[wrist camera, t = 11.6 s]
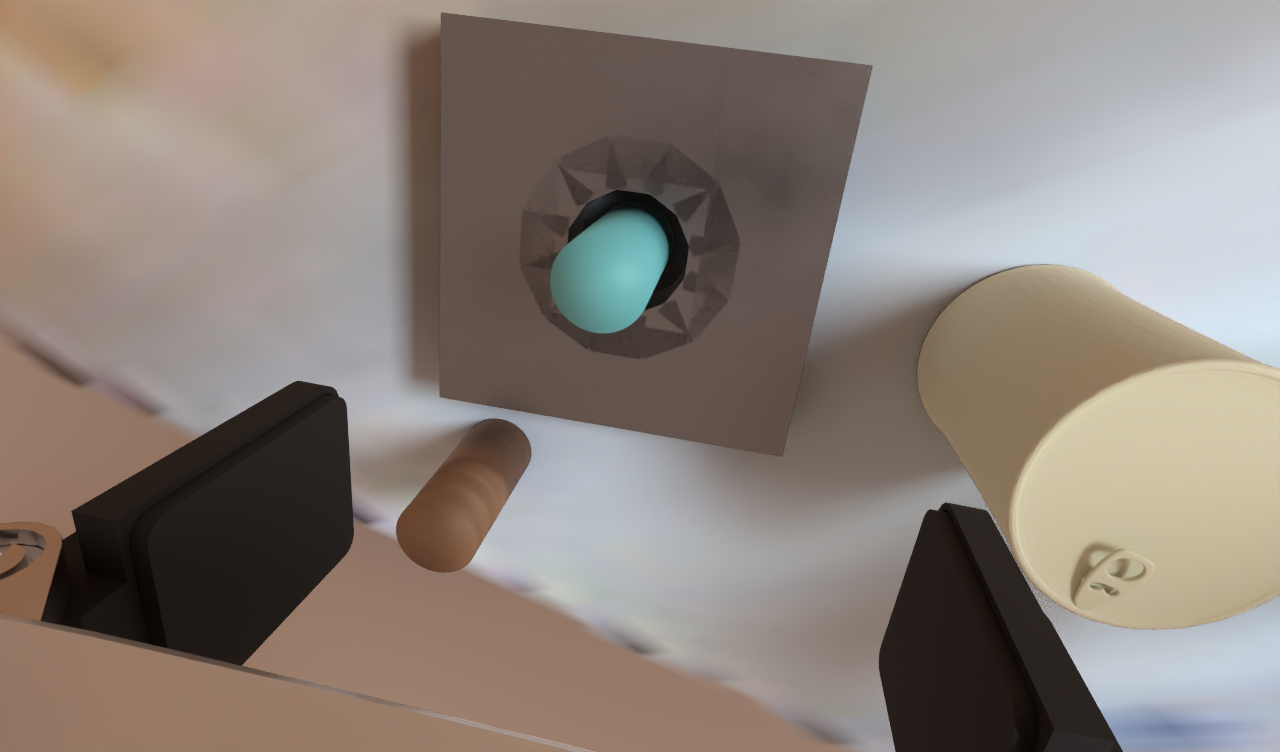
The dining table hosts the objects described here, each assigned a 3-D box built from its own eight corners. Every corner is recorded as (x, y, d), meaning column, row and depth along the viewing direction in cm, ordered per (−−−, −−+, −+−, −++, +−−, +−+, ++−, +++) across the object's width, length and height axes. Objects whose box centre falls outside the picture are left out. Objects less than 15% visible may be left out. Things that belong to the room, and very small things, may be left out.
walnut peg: (533, 424, 35) (476, 510, 28) (529, 482, 36) (474, 579, 29) (467, 413, 35) (395, 495, 28) (466, 471, 37) (397, 564, 29)
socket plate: (859, 69, 27) (872, 65, 24) (779, 426, 33) (782, 456, 30) (470, 21, 28) (440, 12, 25) (464, 373, 34) (439, 396, 32)
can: (877, 406, 32) (948, 566, 21) (995, 227, 28) (1156, 307, 17) (1051, 487, 32) (1211, 687, 21) (1189, 320, 28) (1471, 457, 17)
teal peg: (678, 207, 30) (656, 242, 22) (667, 283, 31) (643, 341, 24) (601, 195, 30) (553, 226, 23) (593, 272, 31) (546, 324, 24)
